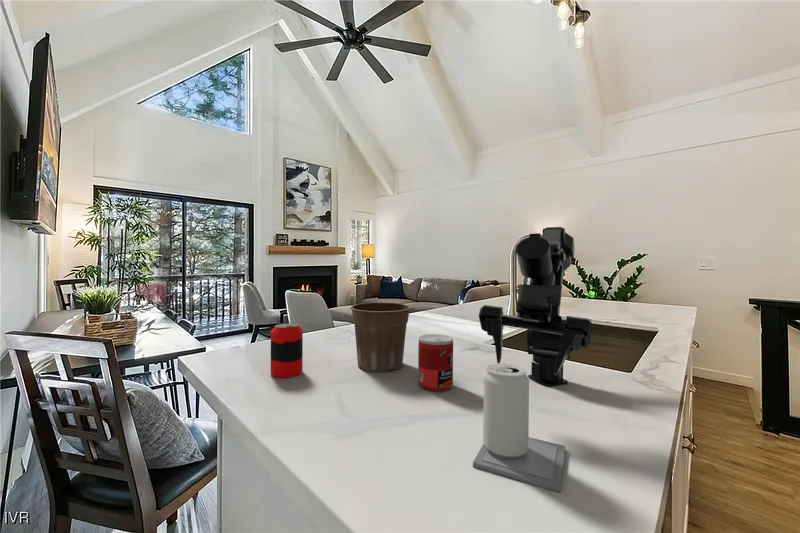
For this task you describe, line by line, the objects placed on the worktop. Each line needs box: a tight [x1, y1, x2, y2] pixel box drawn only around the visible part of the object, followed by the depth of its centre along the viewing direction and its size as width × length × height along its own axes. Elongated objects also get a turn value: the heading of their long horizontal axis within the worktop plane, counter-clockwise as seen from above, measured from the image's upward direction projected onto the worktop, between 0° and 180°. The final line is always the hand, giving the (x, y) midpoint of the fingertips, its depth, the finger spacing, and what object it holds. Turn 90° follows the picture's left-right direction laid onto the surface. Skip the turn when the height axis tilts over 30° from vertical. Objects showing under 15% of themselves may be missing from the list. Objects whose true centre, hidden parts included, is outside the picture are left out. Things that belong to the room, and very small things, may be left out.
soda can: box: [270, 322, 304, 379], centre depth 86 cm, size 8×8×12 cm
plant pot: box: [350, 302, 412, 373], centre depth 93 cm, size 16×16×16 cm
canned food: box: [417, 333, 454, 393], centre depth 79 cm, size 8×8×11 cm
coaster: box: [472, 436, 566, 493], centre depth 50 cm, size 11×11×1 cm
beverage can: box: [482, 363, 530, 459], centre depth 51 cm, size 6×6×12 cm
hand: (526, 367), depth 58 cm, fingers open, 9 cm apart
